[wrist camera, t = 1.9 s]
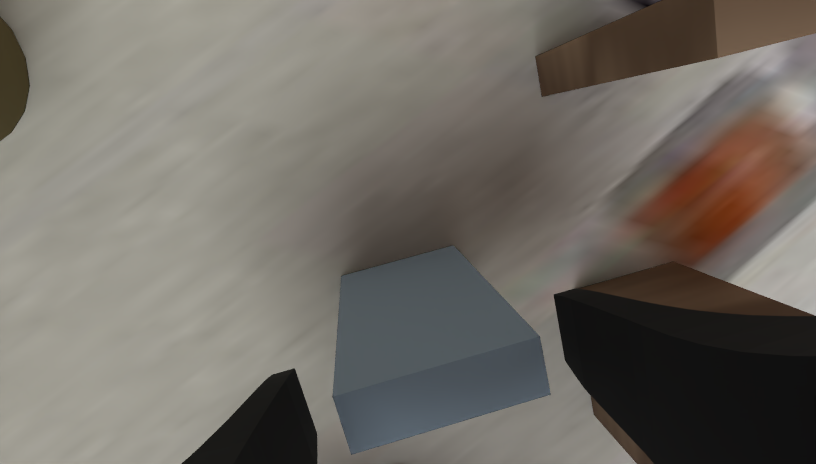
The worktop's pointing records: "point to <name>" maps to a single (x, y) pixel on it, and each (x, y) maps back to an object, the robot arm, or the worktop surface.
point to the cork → (11, 80)
